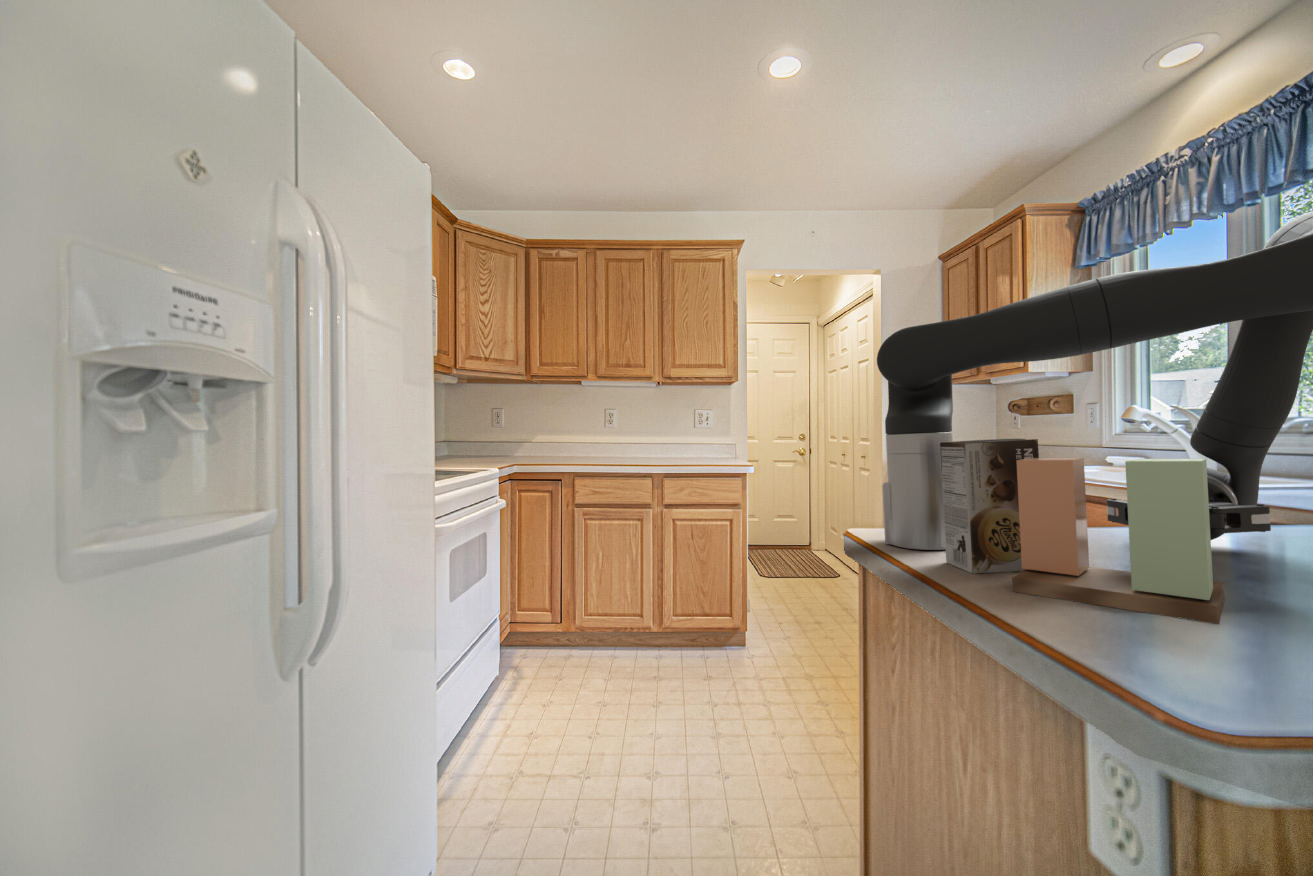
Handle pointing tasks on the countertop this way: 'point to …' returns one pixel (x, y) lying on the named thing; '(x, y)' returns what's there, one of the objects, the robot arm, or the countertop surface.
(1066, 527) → the peach rectangular block
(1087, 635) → the countertop surface
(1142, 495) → the pale green block
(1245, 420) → the robot arm
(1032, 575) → the brown wooden board
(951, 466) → the coffee box
